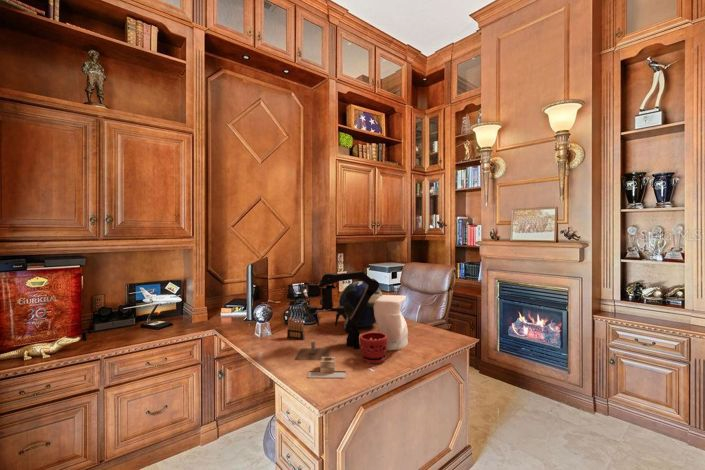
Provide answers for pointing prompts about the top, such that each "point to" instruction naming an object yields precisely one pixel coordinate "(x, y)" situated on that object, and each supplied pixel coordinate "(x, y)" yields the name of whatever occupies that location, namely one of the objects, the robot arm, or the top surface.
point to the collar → (327, 365)
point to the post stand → (312, 353)
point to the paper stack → (391, 320)
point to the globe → (352, 298)
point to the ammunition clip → (295, 329)
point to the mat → (326, 374)
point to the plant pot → (373, 347)
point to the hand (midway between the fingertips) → (327, 325)
